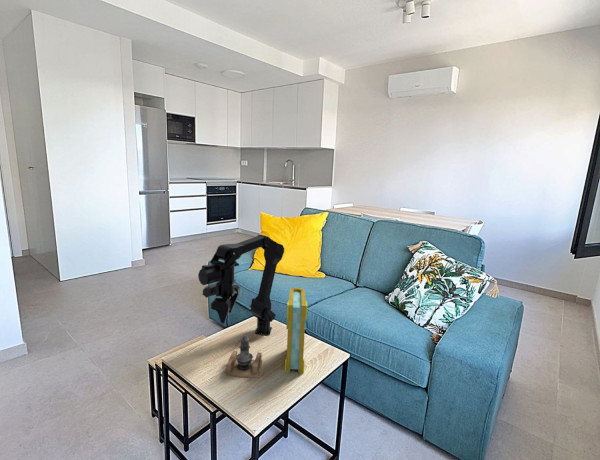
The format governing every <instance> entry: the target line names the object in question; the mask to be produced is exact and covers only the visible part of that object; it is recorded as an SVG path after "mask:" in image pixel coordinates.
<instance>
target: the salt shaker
mask: <svg viewBox="0 0 600 460" xmlns="http://www.w3.org/2000/svg"><path fill="white" fill-rule="evenodd" d="M250 348H251V347H250V338H249V336H247V335H246V334H244V335H243V336H242V337H241V338H240V346H239V349H240V352H239V353H237V356H236V359H237V362H238V365H237V369H239V370H241V371H246V370H249V369H250V368H251V367H252V364H251V361H252V360H253V359H254V355H253V354H252V353H251V352H250Z"/></svg>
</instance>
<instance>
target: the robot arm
mask: <svg viewBox="0 0 600 460" xmlns="http://www.w3.org/2000/svg"><path fill="white" fill-rule="evenodd" d="M258 248H259V249H260V248H261V249H262V250H263V257H264V260H265V263H264V267H263V273H262V276H261V281H260V284H259V291H258V292H257V293H258V294H257V295H256V296H255V297H252V299H251V303H250V305H249V308H250V313H251V314H252V315H253V317H254V318H256V329H255V331H254V334H255V335H263V336H265V335H267V336H270V335H271V332H272V329H273V327H272V326H271V323H272V322H273V321H274V320H275V318H276V313H275V312H274V311H273V310H272V301H271V291H272V287H273V283H274V279H275V275H276V274H275V273H276V271H277V270H276V269H277V265H278V264H279V263H280V261H281V260H282V259H283V256H284V254H285V247H284V245H283V244H281V243H278V242H277V241H275V240H274V239H272V238H271V237H269V235H264V234H258V235H257V236H254V237H251V238H249V239H245V240H243V241H240V242H237V243H226V244H221V245H219V246H217V248H216V251H215V253H214V255H213V256H212V258H211V260H210V261H209V264H204V265H202V266H201V269H200V270H199V272H198V275H197V277H198V281H199V283H200V284H201V285H203V286H205V287H204V288H203V289H202V296H204V297H205V299H206V298H209V297H212V296H215V298H214V299H213V300H212V301H211V303H210V309H211V310H213V311H216V312H217V315H218V318H219V321H220V323H221V324H225V322H226V319H227V317H228V314H230V313H232V310H233V309H234V307H235V304H236V301H237V299H238V297H239V295H240V293H241V286H239V285H238V284H235V283H236V279H235V267H239V266H240V263H238V261H237V260H239V259H240V258H241V257H242V256H243V255H244V254H247V253H249V252H252V251H253V250H254V251H255V250H256V249H257V250H258ZM206 285H207V286H206Z"/></svg>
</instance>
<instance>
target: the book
mask: <svg viewBox="0 0 600 460" xmlns="http://www.w3.org/2000/svg"><path fill="white" fill-rule="evenodd" d="M286 305H287V306H286V307H287V308H286V309H287V310H286V330H287V340H286V341H287V342H286V343H287V344H286V358H284V359H285V360H284V373H288V374H289V373H291V370H298V371H297V372H298V374H304V373H305V358H304V351H305V350H304V348H305V333H306V332H305V327H306V320H307V318H308V301H307V300H306V290H305V289H304V288H302V287H292V288H290V289H289V297H288V300H287V304H286Z"/></svg>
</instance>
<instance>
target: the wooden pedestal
mask: <svg viewBox="0 0 600 460" xmlns="http://www.w3.org/2000/svg"><path fill="white" fill-rule="evenodd" d="M237 355H238V350H232V352H231V355H230V356H229V358H228V360H227V362H226V365H225V367H226V368H225V369H226V370H225V372H224V373H225V376H227V377H228V376H229V377H239V378H240V377H241V378H252V379H253V378H254V379H258V378H259V374H260V372H261V371H260V370H261V367H262V364H263V360H262V356H263V355H262V352H259V351H257V353H256V355H255V359H252V361H251V364H252V367H251V368H250V369H249V370H246V371H241V370H239V369H237V365H238V362H237V359H236V356H237Z"/></svg>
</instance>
